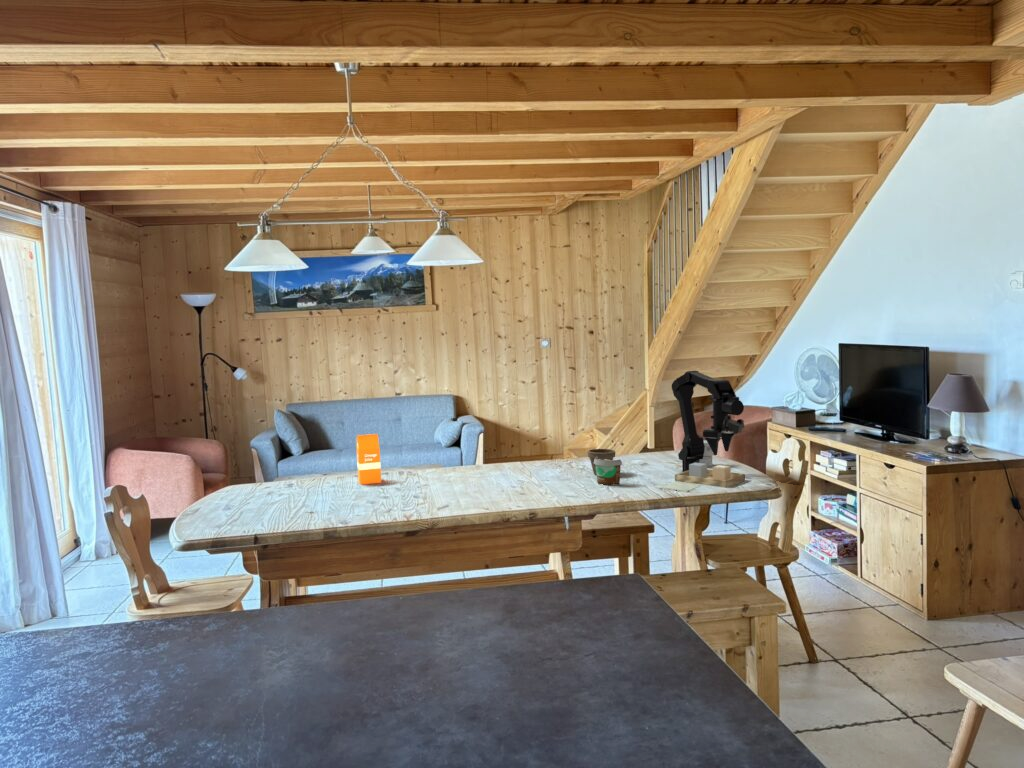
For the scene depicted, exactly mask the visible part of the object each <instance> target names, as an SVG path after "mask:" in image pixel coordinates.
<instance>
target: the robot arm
mask: <svg viewBox="0 0 1024 768" xmlns="http://www.w3.org/2000/svg"><path fill="white" fill-rule="evenodd" d="M697 385H698V386H700V387H702V388H705V389H707V392H708V393H710V394H711V395H712V396H710V398H709V401H712V415H710V418H711V419H712V425H711V426H710V428H706V429H704V430H703V431H702V437H700V436H699V434H698V430H697V426H696V420H695V413H694V409H693V403H692V397H693V395H694V393H695V391H694V389H695V387H696V386H697ZM671 390H672V394H673V396H674V398H675V399H676V400H677V401H678V404H679V410H680V411H679V412H680V415H681V421H682V427H683V428H682V429H683V432H684V433H683V434H684V438H683V439H682V443H681V444H682V446H681V447H682V448H681V450H680V451H679V452H678V454H677V455H678V460H680V461H681V462H682V468H681V469H682V472H685V471H687V470H689V464H692V463H700V459H703V455H704V451H705V448H704V447H705V446H704V440H707V442H708V444H709V446H710V448H711V450H712V455H714V456H717V455H718V452H719V451H718V450H719V442H720V441H721V442H722V445H723V450H724V451H725V452H729V449H730V446H731V442H732V440H733V437H735V436H736V435H738V434H740V433H742V432H743V429H745V427H746V426H745V423H744V422H745V420H743V419H742V418H739V419H737V420H735V419H732V416H740V415H741V414H743V412H744V410H745V406H744V403H743V401H741V400H740V397H739V396H737V395H736V392H735V391H734V388H733V386H732V384H731V382H730V381H729V380H728V379H724V378H714V377H711V376H708V375H707V374H704V373H702V372H699V371H698V370H687V371H686V372H684V374H683V375H680V376H679V377H677V378H676V379H674V380H673V382H672V383H671ZM682 472H681V473H682Z"/></svg>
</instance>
